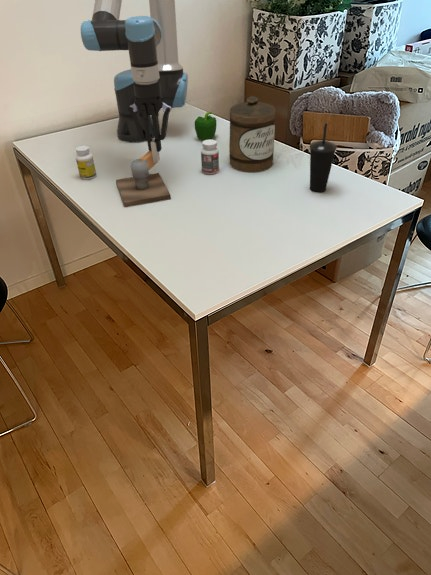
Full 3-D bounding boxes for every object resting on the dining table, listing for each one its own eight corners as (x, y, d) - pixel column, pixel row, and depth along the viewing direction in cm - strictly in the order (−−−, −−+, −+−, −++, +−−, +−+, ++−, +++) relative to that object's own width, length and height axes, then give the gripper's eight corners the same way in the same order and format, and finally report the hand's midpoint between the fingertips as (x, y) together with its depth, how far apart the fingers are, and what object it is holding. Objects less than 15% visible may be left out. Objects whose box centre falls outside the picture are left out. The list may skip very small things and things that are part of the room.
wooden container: (246, 176, 148) (247, 107, 134) (221, 161, 157) (219, 95, 143) (281, 165, 154) (286, 97, 140) (255, 150, 163) (257, 86, 149)
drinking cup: (314, 181, 144) (322, 117, 131) (335, 188, 139) (345, 123, 127) (300, 189, 140) (306, 124, 127) (320, 197, 135) (329, 131, 123)
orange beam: (144, 179, 135) (142, 166, 133) (129, 177, 137) (127, 164, 134) (163, 161, 145) (162, 149, 143) (149, 159, 147) (148, 147, 144)
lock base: (116, 183, 146) (113, 168, 142) (159, 176, 149) (157, 161, 146) (124, 207, 134) (121, 190, 131) (170, 199, 137) (169, 182, 134)
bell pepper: (197, 144, 169) (196, 117, 163) (193, 136, 175) (191, 110, 169) (219, 142, 170) (219, 115, 164) (214, 134, 177) (213, 107, 170)
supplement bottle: (76, 176, 151) (70, 148, 144) (90, 171, 154) (84, 143, 147) (86, 181, 148) (79, 152, 141) (100, 175, 151) (94, 147, 144)
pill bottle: (217, 175, 149) (216, 146, 142) (200, 174, 150) (198, 145, 143) (220, 168, 153) (219, 139, 147) (204, 167, 154) (202, 138, 148)
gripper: (119, 84, 125) (133, 165, 140) (165, 84, 123) (173, 166, 138) (128, 77, 131) (140, 155, 146) (172, 77, 129) (179, 156, 144)
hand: (156, 160), depth 142 cm, fingers closed
